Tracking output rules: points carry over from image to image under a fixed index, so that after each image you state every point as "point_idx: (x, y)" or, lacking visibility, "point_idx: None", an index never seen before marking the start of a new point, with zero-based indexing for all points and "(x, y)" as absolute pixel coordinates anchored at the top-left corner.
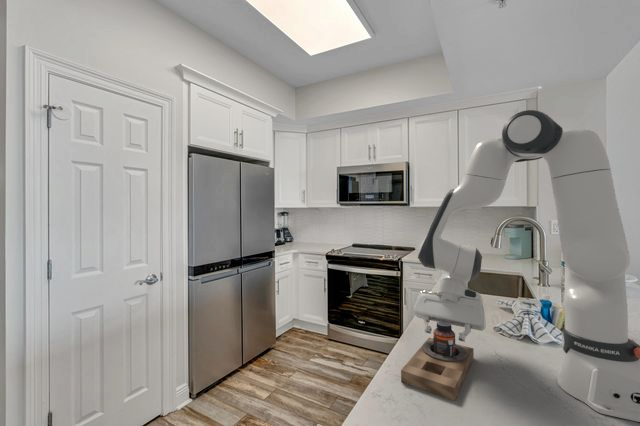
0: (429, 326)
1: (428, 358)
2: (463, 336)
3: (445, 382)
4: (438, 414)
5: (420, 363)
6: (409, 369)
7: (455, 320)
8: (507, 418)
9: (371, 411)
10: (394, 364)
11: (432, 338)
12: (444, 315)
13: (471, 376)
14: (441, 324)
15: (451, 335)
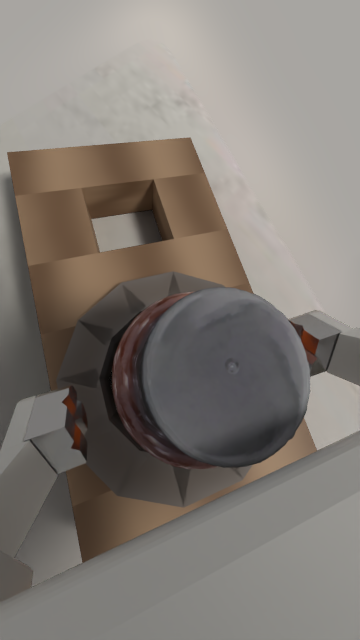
0: (321, 334)
1: (182, 261)
2: (20, 413)
3: (47, 161)
4: (39, 122)
5: (177, 208)
6: (176, 154)
7: (121, 546)
8: None
9: (151, 60)
10: (258, 228)
11: None
12: (357, 510)
13: (41, 356)
14: (224, 305)
15: (119, 348)
